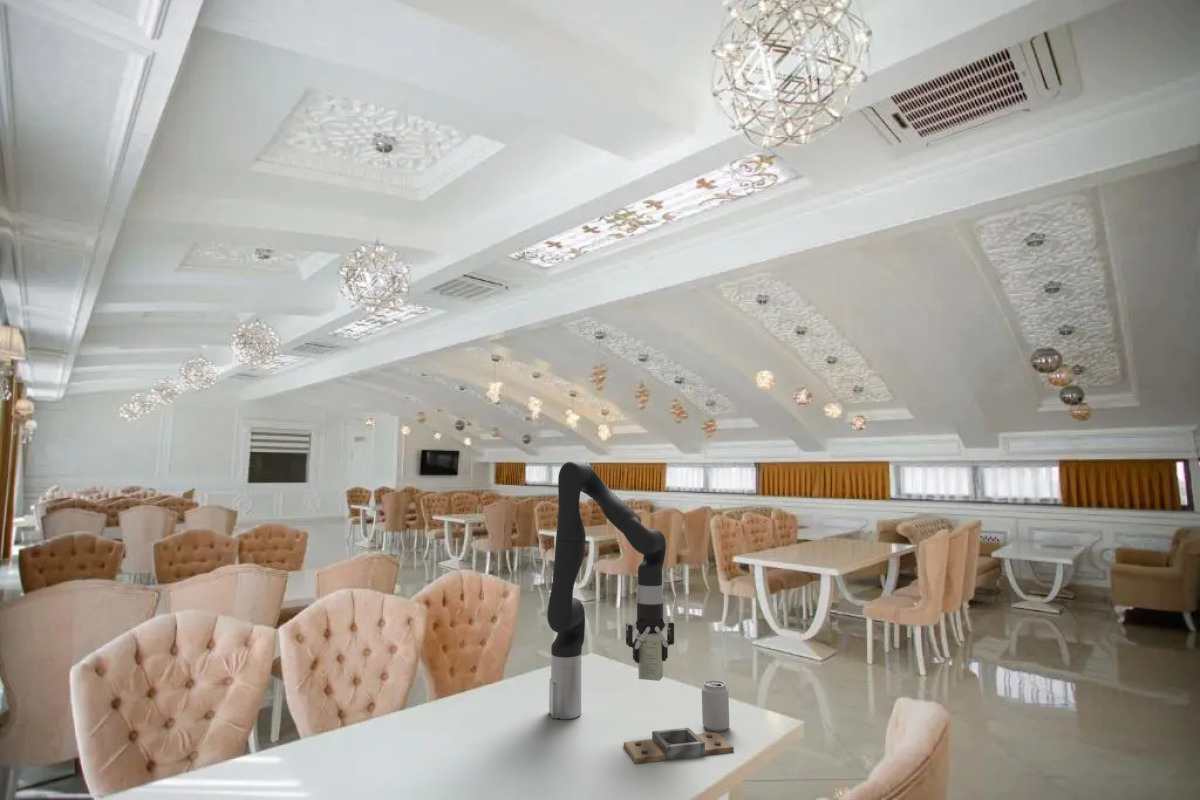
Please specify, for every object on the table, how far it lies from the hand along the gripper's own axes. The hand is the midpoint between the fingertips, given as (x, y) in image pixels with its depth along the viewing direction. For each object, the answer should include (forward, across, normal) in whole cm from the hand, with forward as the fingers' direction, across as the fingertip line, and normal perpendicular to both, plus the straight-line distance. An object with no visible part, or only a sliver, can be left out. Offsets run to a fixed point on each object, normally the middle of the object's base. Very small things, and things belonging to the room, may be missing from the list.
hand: (650, 661), depth 168 cm
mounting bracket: (+19, -3, +12) cm, 22 cm away
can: (+19, -19, +1) cm, 27 cm away
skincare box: (+5, 0, 0) cm, 5 cm away
